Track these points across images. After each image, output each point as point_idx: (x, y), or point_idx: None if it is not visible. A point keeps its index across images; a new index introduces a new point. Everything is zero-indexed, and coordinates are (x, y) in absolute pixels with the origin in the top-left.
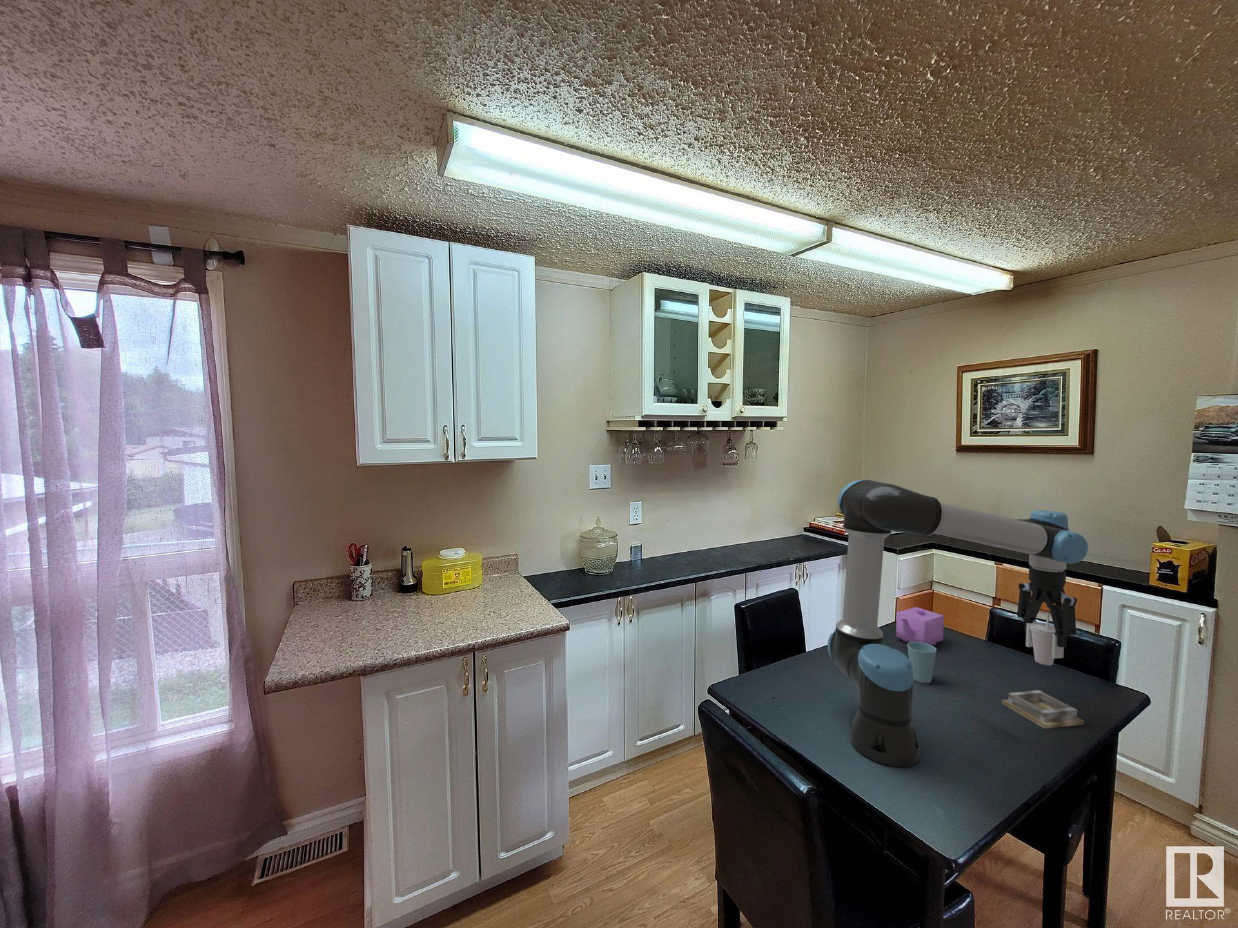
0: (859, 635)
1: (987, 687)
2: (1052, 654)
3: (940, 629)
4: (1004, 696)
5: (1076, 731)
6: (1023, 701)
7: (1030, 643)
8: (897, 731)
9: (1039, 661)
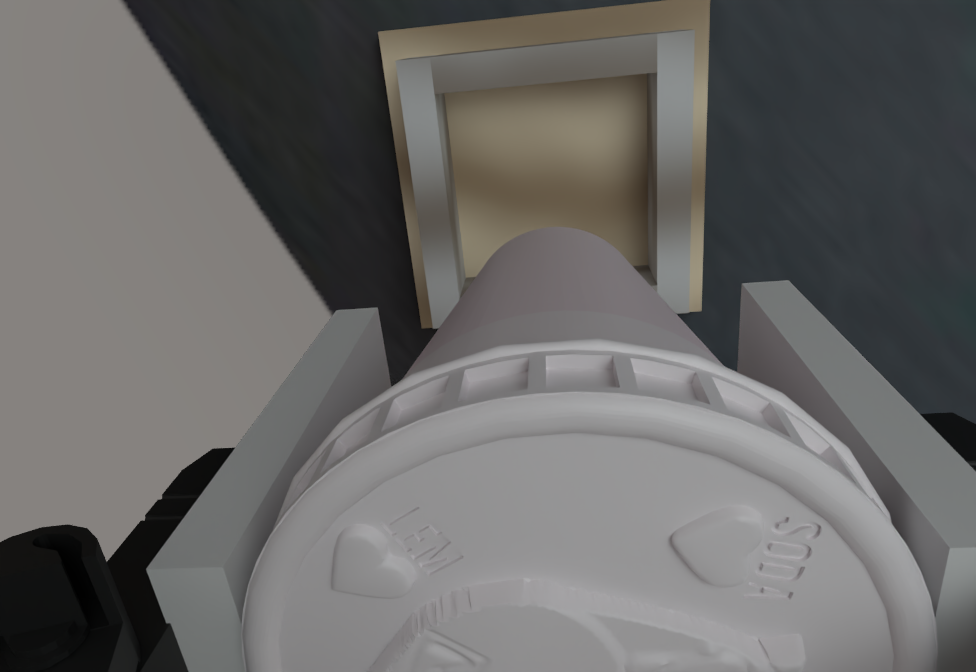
0: None
1: (925, 84)
2: (353, 325)
3: None
4: (782, 107)
5: (357, 211)
6: (561, 43)
7: (756, 341)
8: None
9: (529, 233)
